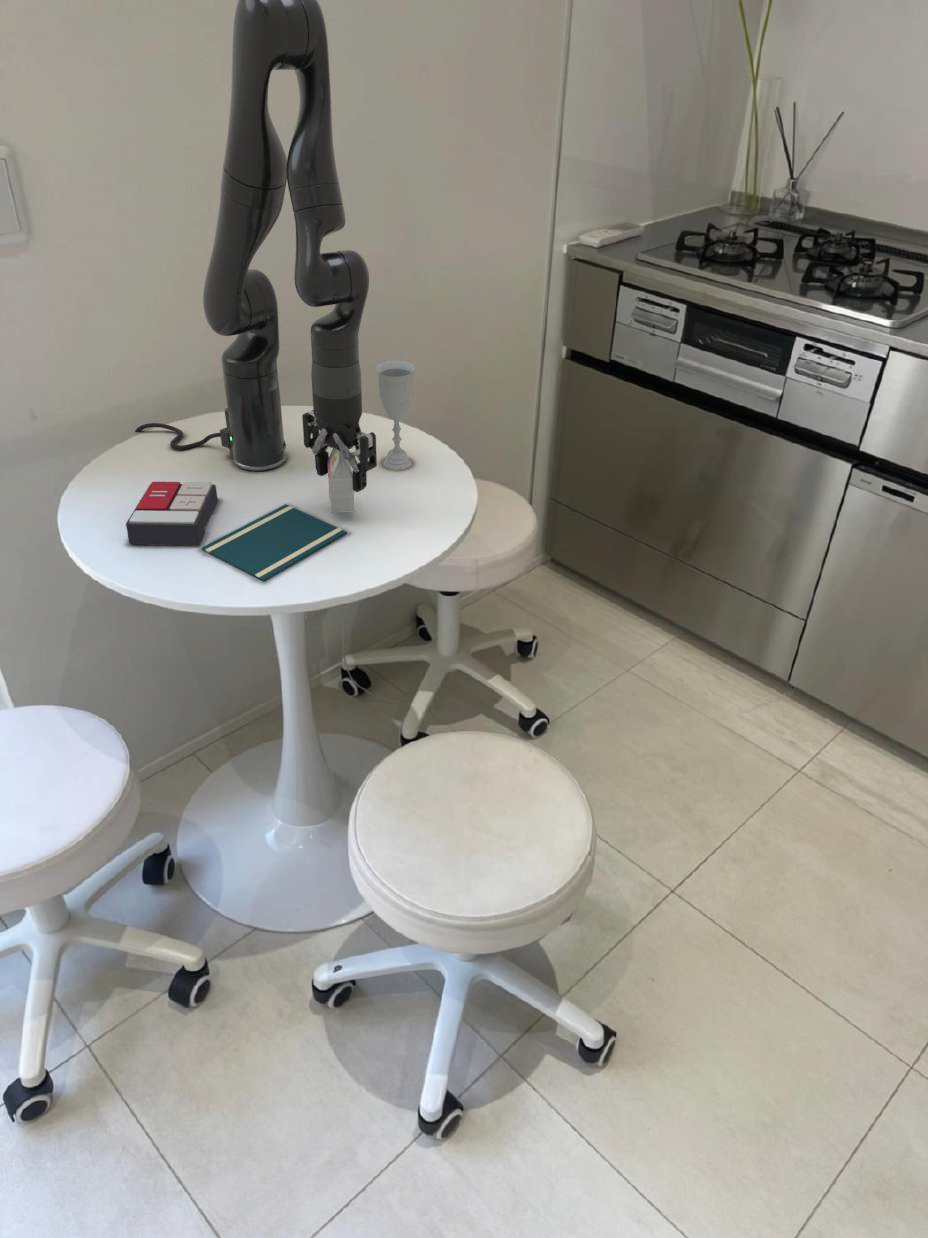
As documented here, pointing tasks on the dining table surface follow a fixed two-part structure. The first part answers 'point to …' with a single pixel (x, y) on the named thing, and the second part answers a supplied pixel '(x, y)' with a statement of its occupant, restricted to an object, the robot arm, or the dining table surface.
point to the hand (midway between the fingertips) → (340, 481)
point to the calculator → (172, 513)
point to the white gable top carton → (340, 483)
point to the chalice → (396, 404)
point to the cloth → (274, 542)
